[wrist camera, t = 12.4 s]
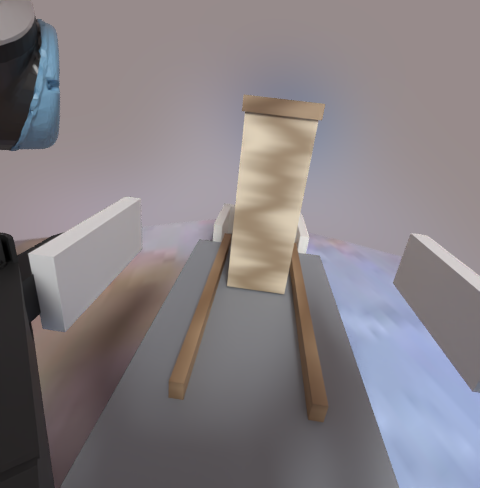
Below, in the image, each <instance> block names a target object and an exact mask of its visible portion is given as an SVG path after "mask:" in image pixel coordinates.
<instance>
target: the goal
mask: <svg viewBox="0 0 480 488" xmlns="http://www.w3.org/2000/svg"><path fill="white" fill-rule="evenodd" d="M234 214H235V205H231V204H224V206H223V208H222V210H221V212H220V214H219V216H218V217H217V219H216V221H215V223H214V231H213V241H215V242H222V239H223V237H224V234H225V233H227V234H232V233H233V224H234ZM308 241H309V235H308V231H307V228H306V225H305V222H304V218H303V216H302V214H300V217H299V222H298V227H297V232H296V237H295V242H294V243H296V244H297V249H298V253H303V254H306V250H307V246H308ZM231 243H232V237H231Z"/></svg>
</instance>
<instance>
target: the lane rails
mask: <svg viewBox="0 0 480 488" xmlns="http://www.w3.org/2000/svg"><path fill="white" fill-rule="evenodd" d="M231 237H232V234H227V233H225V234H224V237H223V239H222V242H221V245H220V247H219V250H218V253H217V255H216V258H215V261H214V263H213V266H212V268H211V271H210V274H209V276H208V279H207V282H206V284H205V287H204V290H203V292H202V295H201V297H200V300H199V303H198V305H197V308H196V311H195V313H194V316H193V319H192V321H191V324H190V326H189V329H188V332H187V334H186V337H185V340H184V342H183V345H182V348H181V350H180V353H179V355H178V358H177V361H176V363H175V366H174V369H173V371H172V374H171V377H170V379H169V393H168V398H173V399H180V400H183V399H184V396H185V393H186V389H187V386H188V383H189V380H190V376H191V373H192V370H193V366H194V363H195V360H196V356H197V353H198V350H199V347H200V343H201V340H202V337H203V333H204V330H205V327H206V324H207V320H208V317H209V314H210V310H211V307H212V304H213V301H214V297H215V294H216V291H217V287H218V284H219V281H220V277H221V274H222V271H223V268H224V264H225V261H226V258H227V254H228V251H229V248H230V245H231ZM289 268H290V276H291V285H292V293H293V301H294V309H295V317H296V326H297V334H298V342H299V350H300V358H301V367H302V375H303V383H304V391H305V399H306V408H307V416H308V420H312V421H318V422H324V419H325V416H326V413H327V410H328V407H329V406H328V401H327V396H326V391H325V386H324V380H323V375H322V370H321V365H320V360H319V355H318V350H317V345H316V340H315V335H314V330H313V325H312V320H311V315H310V310H309V305H308V300H307V295H306V289H305V284H304V279H303V274H302V269H301V264H300V259H299V254H298V249H297V244H296V243H294V247H293V252H292V257H291V262H290V267H289Z"/></svg>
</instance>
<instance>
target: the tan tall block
mask: <svg viewBox="0 0 480 488" xmlns="http://www.w3.org/2000/svg"><path fill="white" fill-rule="evenodd" d="M324 108H325V104H320V103H311V102H302V101H294V100H285V99H277V98H268V97H259V96H251V95H244V98H243V108H242V111H245V119H244V129H243V138H242V148H241V157H240V167H239V177H238V186H237V195H236V205H235V214H234V224H233V233H232V243H231V252H230V262H229V271H228V281H227V286H230V287H237V288H244V289H251V290H258V291H265V292H272V293H279V294H284V293H285V288H286V283H287V278H288V273H289V267H290V262H291V257H292V252H293V247H294V242H295V237H296V232H297V227H298V222H299V217H300V212H301V206H302V201H303V196H304V191H305V186H306V181H307V176H308V171H309V166H310V160H311V155H312V151H313V145H314V140H315V135H316V130H317V125H318V120H322V117H323V113H324Z"/></svg>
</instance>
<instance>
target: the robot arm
mask: <svg viewBox="0 0 480 488" xmlns="http://www.w3.org/2000/svg"><path fill="white" fill-rule="evenodd" d="M59 73H60V72H59V50H58V39H57V33H56V30H55V28H54V27H53V26H52V25H50V24H48V23H45V22H44V21H42V20H41V19H36V18H35V12H34V7H33V4H32V1H31V0H0V150H10V151H16V150H19V149H45V148H48V147H50V146H52V145H53V144H54V143H55V142H56V140H57V138H58V134H59V121H60V91H59ZM141 250H142V222H141V199H140V198H132V197H124V198H122V199H121V200H119V201H117V202H116V203H114V204H112V205H111V206H109V207H107V208H105V209H104V210H102V211H100V212H99V213H97V214H95V215H94V216H92V217H90V218H88V219H87V220H85V221H83V222H82V223H80V224H78V225H76V226H75V227H73V228H71V229H70V230H68V231H66V232H64V233H60V234H57V235H54V236H51V237H49V238H48V239H46V240H44V241H42V243H39V244H37V245H35V246H34V247H32V248H30V249H28V250H27V251H25V252H23V253H21V254H19V255H18V256H17V254H16V249H15V245H14V240H13V237H12V236H11V235H9V234H6V233H0V488H54V480H53V473H52V466H51V459H50V452H49V444H48V437H47V430H46V423H45V416H44V409H43V401H42V394H41V387H40V380H39V373H38V365H37V358H36V351H35V344H34V337H33V330H32V325H31V321H32V320H33V319H35V318H36V317H37V316H38V315H39V314H40V317H41V323H42V328H43V329H48V330H55V331H61V332H66V331H67V330H68V329H69V328H70V326H71V325H72V324H73V323H74V322H75V321H76V320H77V319H78V318H79V317H80V316H81V315H82V314H83V312H84V311H85V310H86V309H87V308H88V307H89V306H90V305H91V304H92V303H93V302H94V301H95V300H96V298H97V297H98V296H99V295H100V294H101V293H102V292H103V291H104V290H105V289H106V288H107V287H108V286H109V284H110V283H111V282H112V281H113V280H114V279H115V278H116V277H117V276H118V275H119V274H120V273H121V272H122V270H123V269H124V268H125V267H126V266H127V265H128V264H129V263H130V262H131V261H132V260H133V259H134V258H135V256H136V255H137V254H138V253H139V252H140V251H141ZM393 284H394V285H395V287H396V288H397V289H398V291H399V292H400V293H401V295H402V296H403V297H404V299H405V300H406V302H407V303H408V304H409V306H410V307H411V308H412V310H413V311H414V312H415V314H416V315H417V317H418V318H419V319H420V321H421V322H422V323H423V325H424V326H425V327H426V329H427V330H428V332H429V333H430V334H431V336H432V337H433V338H434V340H435V341H436V342H437V344H438V345H439V347H440V348H441V349H442V351H443V352H444V353H445V355H446V356H447V357H448V359H449V360H450V362H451V363H452V364H453V366H454V367H455V368H456V370H457V371H458V372H459V374H460V375H461V377H462V378H463V379H464V381H465V382H466V383H467V385H468V386H469V387H470V389H471V390H472V392H478V393H480V276H479V275H478V274H477V273H475V272H474V271H473V270H471V269H470V268H469V267H467V266H466V265H465V264H464V263H462V262H461V261H460V260H458V259H457V258H456V257H454V256H453V255H452V254H450V253H449V252H448V251H447V250H445V249H444V248H443V247H441V246H440V245H439V244H438V243H436V242H435V241H434V240H432V239H431V238H430V237H428V236H427V235H420V234H412V233H411V234H410V237H409V240H408V243H407V246H406V248H405V251H404V254H403V256H402V259H401V262H400V265H399V268H398V270H397V273H396V276H395V279H394V281H393Z"/></svg>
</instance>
